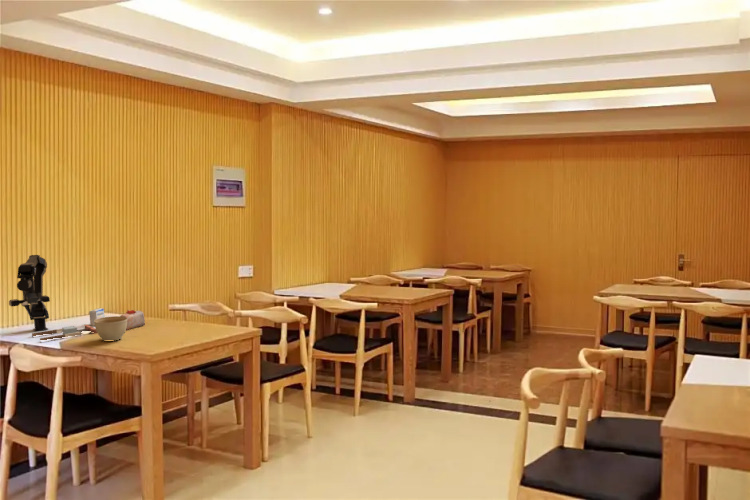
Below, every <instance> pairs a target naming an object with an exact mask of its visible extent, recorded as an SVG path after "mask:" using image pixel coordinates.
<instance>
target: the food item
mask: <svg viewBox="0 0 750 500" xmlns="http://www.w3.org/2000/svg"><path fill="white" fill-rule="evenodd" d="M125 312H126V313H124V314H121V315H120V316H121V317H127V318H128V320H127V328H126V330H127V331H130V330H132V329H135V328H140V327H143V326H145V325H146V320H145V314H144V312H143V311H141V310H136V311H135V309H134V310H133V309H132V310H131V309H130V310H129V309H127V311H125Z"/></svg>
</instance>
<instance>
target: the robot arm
mask: <svg viewBox="0 0 750 500" xmlns="http://www.w3.org/2000/svg"><path fill="white" fill-rule="evenodd" d="M46 260H47V259H45V258H44V257H42V256H41V255H39V254H31V255H29V256H28V259H27V260H26V262H25V263H20V265H19V266H18V269H17V276H16V277H17V279H20V280H18V282H17V284H16V287H17V289H18V290H19V291H21V292H22V299H21V300H20V299H18V298H15V299H10V300H9V301H8V305H9V306H10V307H18V306H20V305H21V307H24V309H25V310H26V313H27V315H29V318H30V319H29V320H30V321H33V324H34V327H33V328H32V330H33V331H35V332H42V331H48V330H49V328H48V327H47V325H46V324H47V323H46V320H47V319H49V318H50V314H49V310H48V309H47V307H46V305H45V303H49V302H50V301H51V300H50V298H51V297H50V296H48V295H43V294H44V293H43V292H44V291H43V289H44V288H43V287H44V283H43V281H44V280H43V279H44V278H43V277H44V275H45V273H46V271H47V268H48V263H47V261H46Z"/></svg>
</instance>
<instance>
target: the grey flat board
mask: <svg viewBox="0 0 750 500" xmlns="http://www.w3.org/2000/svg"><path fill="white" fill-rule="evenodd" d="M83 327H84V328H82V329H77V332H76V333H69V334H63V333H62V328H58V329H51V330H50V329H49V330H42V331H36V332H32V333H31V336H36V335H43V334H51V335H53V334H52V333H58V334H59V335H57V334H56V335H53V336H44V337H41V338H39V341H40V340H47V339H53V338H62V337H68V336H75V335H81V336H82V333H81V332H82V331H91V332H94V333H96V334H98V333H97V331H96V328H95V327H94V326H90V325H89V324H84V326H83ZM94 333H93V334H94Z"/></svg>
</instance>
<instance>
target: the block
mask: <svg viewBox="0 0 750 500" xmlns="http://www.w3.org/2000/svg"><path fill="white" fill-rule="evenodd" d="M61 329H62V332H63V333H62V335H63V334H69V333H76V332H78V331H77V330H78V328H77V327H76V326H75V325H71V326H64V327H62V328H61Z"/></svg>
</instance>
